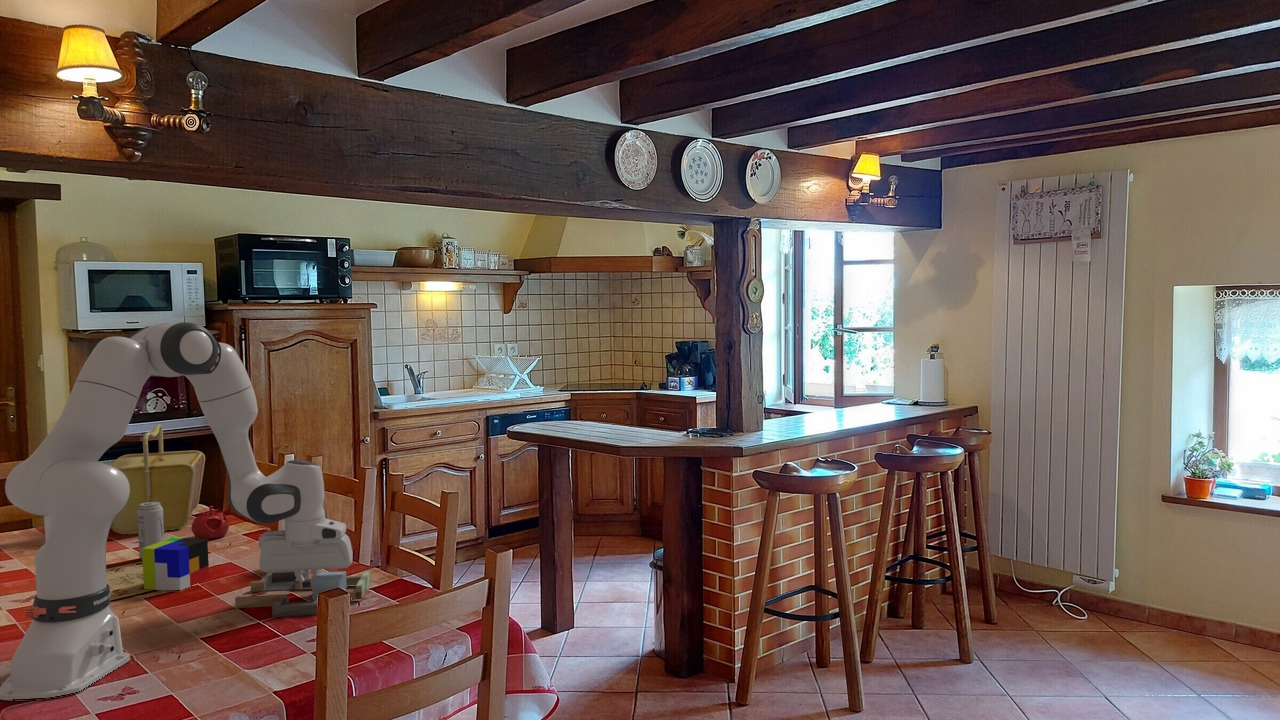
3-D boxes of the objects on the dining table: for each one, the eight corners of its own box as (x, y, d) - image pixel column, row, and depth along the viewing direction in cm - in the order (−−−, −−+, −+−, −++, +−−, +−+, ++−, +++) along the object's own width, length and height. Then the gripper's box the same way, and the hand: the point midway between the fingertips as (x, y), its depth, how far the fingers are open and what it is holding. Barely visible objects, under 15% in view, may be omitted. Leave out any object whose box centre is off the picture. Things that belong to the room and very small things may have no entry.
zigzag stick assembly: (355, 612, 191) (355, 596, 191) (224, 619, 187) (224, 603, 187) (375, 575, 217) (375, 561, 217) (261, 581, 214) (260, 567, 213)
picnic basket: (119, 517, 283) (115, 425, 281) (207, 509, 292) (204, 420, 290) (99, 539, 256) (94, 437, 254) (197, 530, 265) (193, 432, 263)
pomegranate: (184, 541, 253) (182, 509, 252) (210, 532, 262) (208, 501, 262) (212, 542, 250) (210, 510, 249) (237, 533, 259) (235, 502, 259)
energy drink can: (163, 560, 233) (161, 504, 232) (137, 563, 230) (135, 507, 229) (166, 554, 238) (164, 500, 237) (141, 557, 236) (138, 502, 235)
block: (339, 598, 200) (338, 579, 200) (312, 599, 200) (312, 580, 199) (346, 590, 206) (346, 571, 206) (320, 590, 206) (320, 572, 205)
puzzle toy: (180, 591, 207) (178, 550, 206) (143, 589, 209) (141, 548, 208) (209, 578, 216) (207, 539, 216) (174, 576, 218) (172, 537, 218)
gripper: (254, 535, 197) (256, 595, 198) (347, 530, 200) (349, 589, 201) (262, 528, 203) (264, 586, 204) (352, 523, 206) (354, 581, 207)
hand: (307, 588), depth 202 cm, fingers closed
